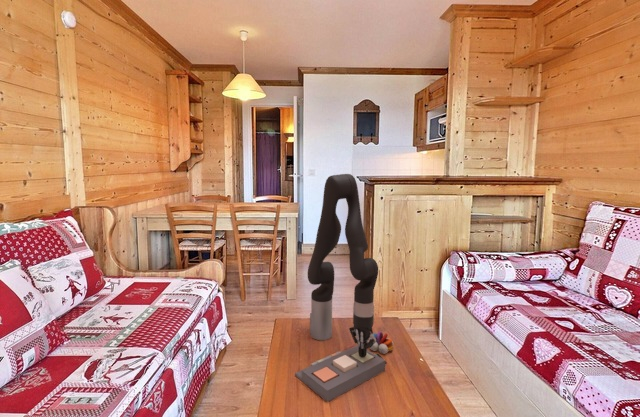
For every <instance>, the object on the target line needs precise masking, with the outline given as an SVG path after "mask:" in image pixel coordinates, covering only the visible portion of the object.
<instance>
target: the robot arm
mask: <svg viewBox="0 0 640 417" xmlns="http://www.w3.org/2000/svg"><path fill="white" fill-rule="evenodd" d="M322 198H323V199H322V206H321V207H322V208H321V214H320V220H319V224H318V227H317V233H316V236H315V244H314V246H313V247H314V248H313V250H312V251H313V252H312V254H311V259H310V262H309V264H308V267H307V280H308V282H309V283H310V284H311V285H314V286H315V285H319V286H317V288H315V289H313V290H312V291H311V297H310V298H311V299H310V300H311V304H310V305H311V307H310V308H311V310H310V314H309V334H310V337H311V338H313V339H314V340H317V341H327V340H329V339H331V338H332V337H333V295H334V291H335V290H334V289H335V288H334V286H335V267H334V265H333V263H332V262H330V261H324V260H326V258H327V257H328V255H329V254H331V252H333V250H334V249H335V248H336V246H337V245H338V243H339V240H340V236H341V233H342V225H341V221H340V219H339V217H338V215H337V205H338V202H339V200H346V205H347V217H346V221H345V225H344V226H345V227H344V234H345V239H346V243H347V246H348V250H349V251H348V252H349V254H348V255H349V257H348V258H349V270H350V273H351V275H352V277H353V278H354V279H355V280H357V281H359V282H358V283H356V284H355V286H354V293H353V294H354V300H353V308H352V309H353V310H352V312H353V314H352V320H353V321H352V323H353V326H351V327H349V328H348V330H349V332H350V335H351V337H352V339H353V342H354V344H357V345H358V347H359V351H358V353H359V356H360V357H362V358H363V357H365V356H366V355H367V350H368V349H370V347H372V345H373V344H374V343H375V342H376V341H377V340H378V339H377V337H374V336H373V333H374V332H373V326H374V320H375V319H374V318H375V316H374V315H375V303H374V299H375V298H374V296H375V294H374V293H375V292H374V291H375V287H376V283H377V280H378V276H379V265H378V263H377V261H376V260H375V259H374V258H372V257H366V258H365V252H366V251H367V250H369V244H368V240H367V237H366V233H365V230H364V226H363V220H362V215H361V214H362V213H361V205H360V196H359V189H358V183H357V181H356V178H355V177H354V175H352V174H351V173H340V174H333V175H329V176H328V177H327V178H326V181H325V183H324V188H323V197H322Z"/></svg>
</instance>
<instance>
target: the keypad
mask: <svg viewBox="0 0 640 417" xmlns="http://www.w3.org/2000/svg"><path fill="white" fill-rule="evenodd" d="M358 351H359V347H358V344H357V345H355V346H352V347H350V348H348V349H345V350H343V351H336V352H335V353H332V354H329V355H327V356H325V357H323V358H321V359H318V360H315V361H314V362H312V363H310V365H309V366H308V367H305V368H303V369H301V370H299V371H297V372H295V373H294V376H295V377H296V378H298V379H299V380H300V381H301V382H302V383H303V384H305V385H306V386H307V387H308V388H309V389H311V390H312V391H313V392H314V393H316V394H317V395H318V396H319V398H320V397H321V399H323V400H324V401H325V402H326V403H328V402H330V401H333V400H334V399H336V398H338V397H339V396H341V395H343V394H345V393H347V392H348V391H350V390H352V389H354V388H356V387H358V386H360V385H361V384H363V383H365V382H367V381H368V380H370V379H372V378H374V377H376V376H378V375H380V374H381V373H383V372H385V371H386V364H387V363H386V362H387V361H386V359H385V358H383V357H382V356H381V357H382V358H383V359H382V358H381V357H379V356H377V355H375V353H374V352H372V351H371V350H368V349H367V353H368V354H370V355H372V356H373V357H374V359H372V360H370V361H368V362H366V363H364V364H361V363H360V362H358V361H357V360H355V359H353V358H352V357H351V355H353V354H355V353H357V352H358ZM344 355H346V356H348V357H349V358H351V359H353V360H354V361H356V362H357V367H356V368H354V369H352V370H350V371H348V372H346V373H343V372H341V371H340V370H339V369H337V368H336V367H334V366H333V360H335V359H337V358H339V357H342V356H344ZM385 363H386V364H385ZM325 367H328V368H329V369H331V370H332V371H333V372H335V373H336V374H338V377H336V378H334V379H332V380H330V381H328V382H326V383H323V382H322V381H320V380H319V379H318V378H316V377H315V376H314V375H313V373H314V372H316V371H318V370H320V369H322V368H325Z"/></svg>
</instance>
